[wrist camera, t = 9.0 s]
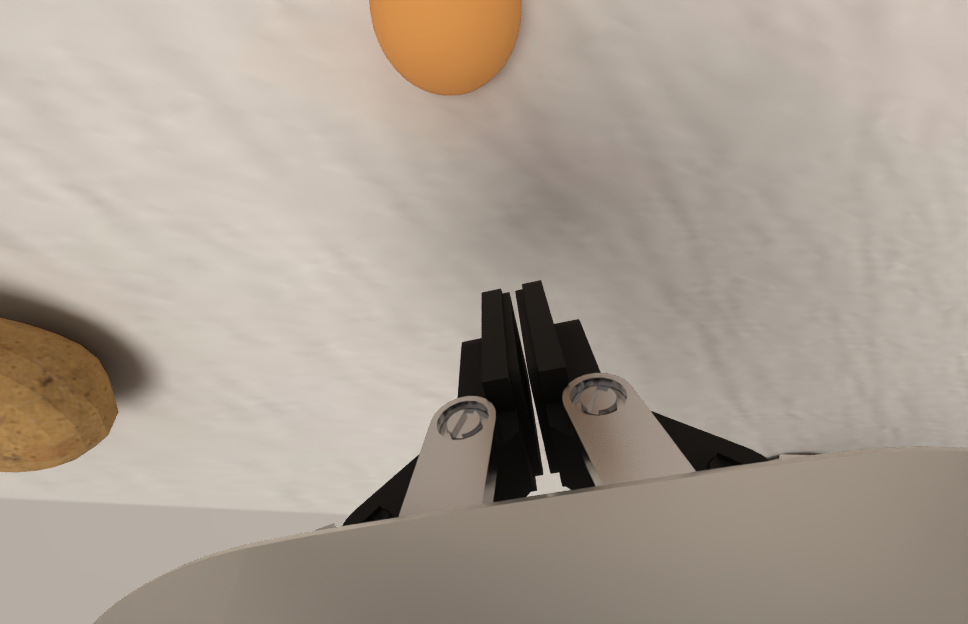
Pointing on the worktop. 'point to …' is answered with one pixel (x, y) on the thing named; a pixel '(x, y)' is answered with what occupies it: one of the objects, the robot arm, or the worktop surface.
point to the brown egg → (447, 40)
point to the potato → (49, 399)
